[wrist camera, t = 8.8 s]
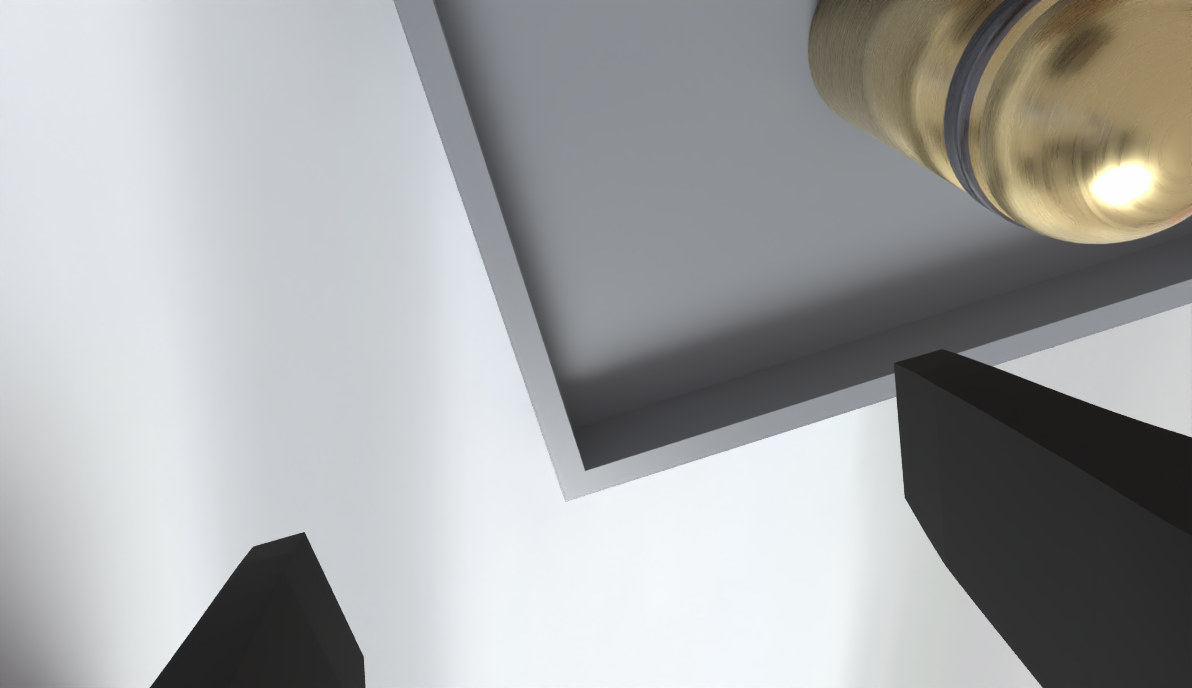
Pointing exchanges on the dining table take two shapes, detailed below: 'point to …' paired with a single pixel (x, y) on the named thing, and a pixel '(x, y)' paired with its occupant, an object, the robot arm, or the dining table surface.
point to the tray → (724, 230)
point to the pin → (1025, 103)
